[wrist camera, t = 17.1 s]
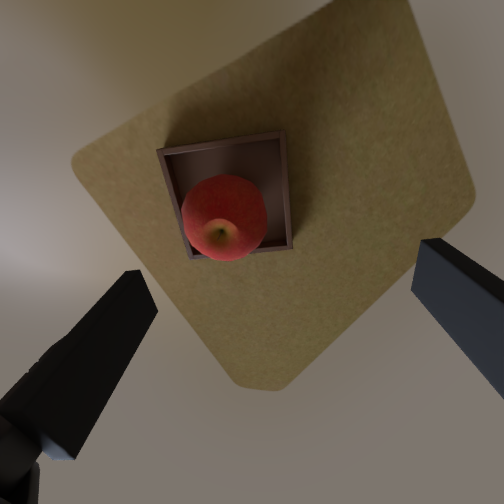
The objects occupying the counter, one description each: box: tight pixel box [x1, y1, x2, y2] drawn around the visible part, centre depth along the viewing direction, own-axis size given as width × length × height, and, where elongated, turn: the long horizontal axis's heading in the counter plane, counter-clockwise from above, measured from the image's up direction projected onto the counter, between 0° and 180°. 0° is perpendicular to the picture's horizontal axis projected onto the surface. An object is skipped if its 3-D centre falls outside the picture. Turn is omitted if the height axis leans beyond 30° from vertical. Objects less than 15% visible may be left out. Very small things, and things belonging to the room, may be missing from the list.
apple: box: [181, 174, 267, 261], centre depth 30 cm, size 10×10×14 cm
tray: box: [156, 130, 293, 260], centre depth 35 cm, size 17×17×2 cm
